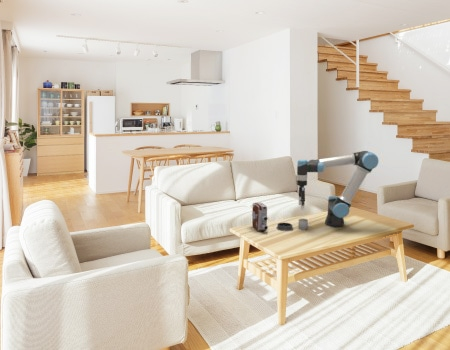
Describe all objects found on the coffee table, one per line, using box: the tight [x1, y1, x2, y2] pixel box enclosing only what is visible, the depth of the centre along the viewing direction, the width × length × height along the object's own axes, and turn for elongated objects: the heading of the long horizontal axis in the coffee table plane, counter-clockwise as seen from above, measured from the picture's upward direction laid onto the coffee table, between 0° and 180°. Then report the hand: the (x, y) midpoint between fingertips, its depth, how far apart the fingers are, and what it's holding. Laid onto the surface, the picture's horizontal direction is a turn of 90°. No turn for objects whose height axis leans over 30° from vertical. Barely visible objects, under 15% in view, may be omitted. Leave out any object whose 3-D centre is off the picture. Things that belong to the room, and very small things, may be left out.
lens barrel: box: [276, 222, 294, 232], centre depth 305 cm, size 13×13×3 cm
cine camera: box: [251, 202, 269, 232], centre depth 300 cm, size 9×19×20 cm, turn 15°
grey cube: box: [297, 218, 309, 231], centre depth 304 cm, size 7×7×7 cm
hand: (301, 207), depth 302 cm, fingers open, 13 cm apart
